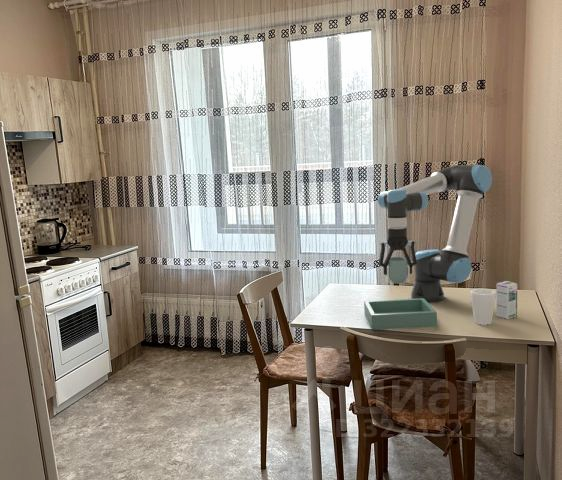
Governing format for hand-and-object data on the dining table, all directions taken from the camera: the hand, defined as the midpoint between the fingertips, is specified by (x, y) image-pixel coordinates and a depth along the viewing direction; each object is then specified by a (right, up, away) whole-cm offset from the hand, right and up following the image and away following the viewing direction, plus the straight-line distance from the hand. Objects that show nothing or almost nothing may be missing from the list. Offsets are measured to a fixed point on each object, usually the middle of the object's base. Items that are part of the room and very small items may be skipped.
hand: (397, 281), depth 209 cm
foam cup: (+33, -16, -6) cm, 37 cm away
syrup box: (+45, -15, 0) cm, 47 cm away
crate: (+1, -16, +3) cm, 17 cm away
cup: (0, 0, 0) cm, 1 cm away
